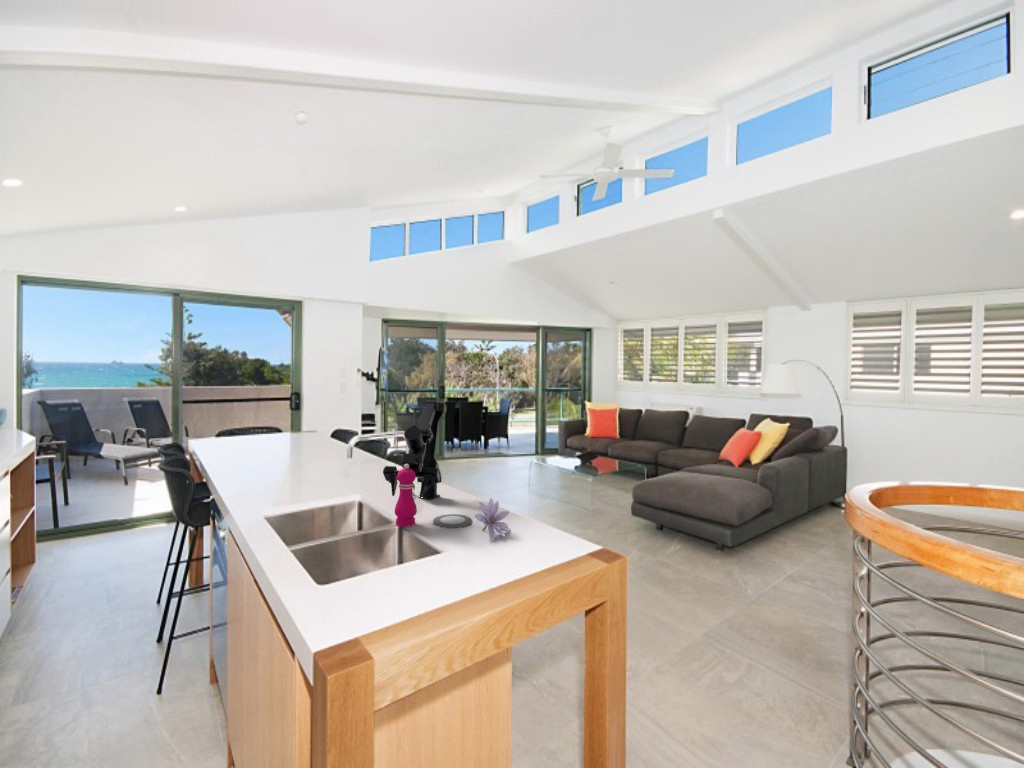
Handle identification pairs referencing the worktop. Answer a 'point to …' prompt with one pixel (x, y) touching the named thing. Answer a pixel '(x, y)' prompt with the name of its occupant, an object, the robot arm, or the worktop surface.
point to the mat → (452, 521)
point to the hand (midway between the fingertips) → (406, 496)
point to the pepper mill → (405, 498)
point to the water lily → (493, 519)
